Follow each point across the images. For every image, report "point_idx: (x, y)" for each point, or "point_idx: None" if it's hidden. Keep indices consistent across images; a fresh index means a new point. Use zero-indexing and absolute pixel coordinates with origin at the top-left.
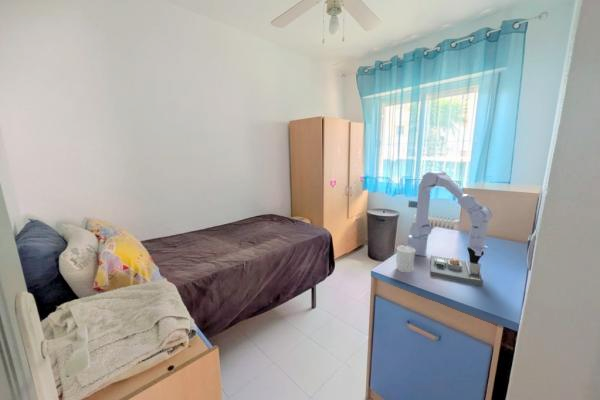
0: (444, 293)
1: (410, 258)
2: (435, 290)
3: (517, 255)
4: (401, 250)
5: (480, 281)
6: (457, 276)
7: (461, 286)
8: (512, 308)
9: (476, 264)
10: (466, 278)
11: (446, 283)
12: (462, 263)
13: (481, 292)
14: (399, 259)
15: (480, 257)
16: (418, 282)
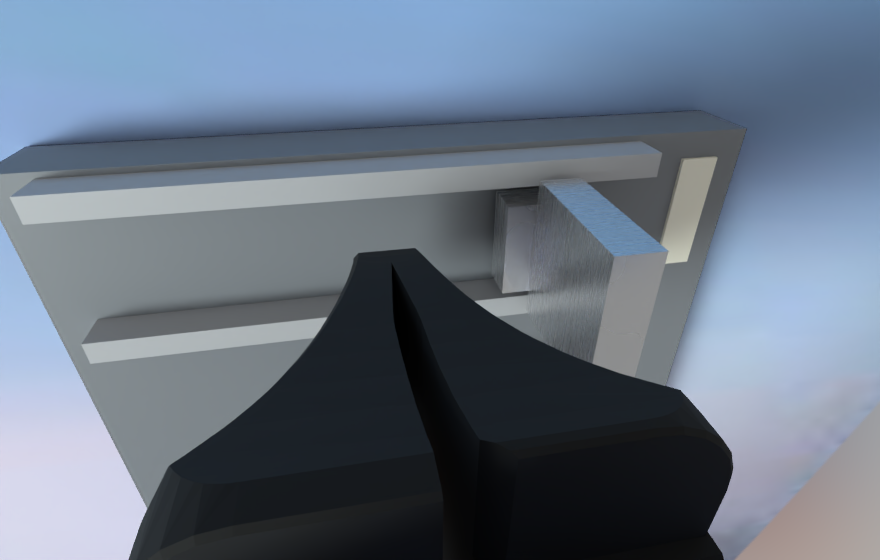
0: (859, 390)
1: None
2: (821, 435)
3: None
4: None
5: (733, 156)
6: (665, 375)
7: (740, 301)
8: None
9: (643, 315)
10: (689, 300)
11: (706, 398)
12: (208, 360)
13: (841, 134)
14: None
15: (546, 344)
16: (726, 520)
